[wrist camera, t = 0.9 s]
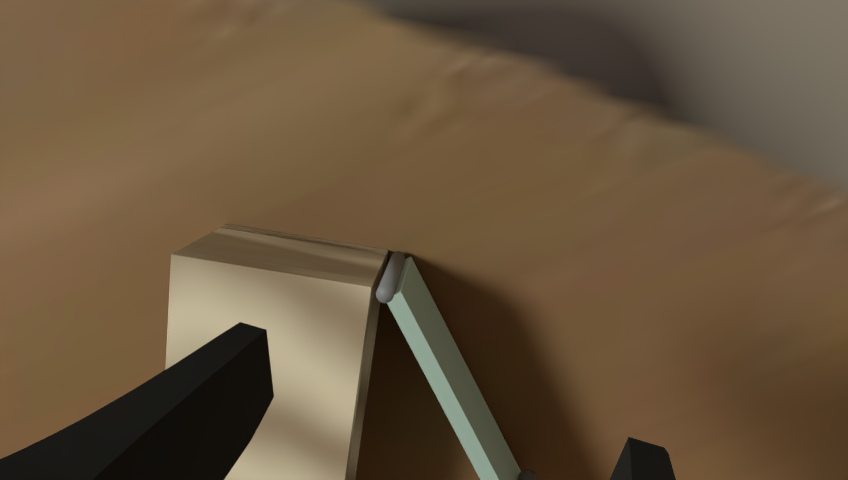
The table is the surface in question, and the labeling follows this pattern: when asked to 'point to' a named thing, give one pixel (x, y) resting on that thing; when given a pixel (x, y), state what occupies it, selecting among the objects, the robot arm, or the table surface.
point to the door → (447, 371)
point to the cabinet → (287, 339)
